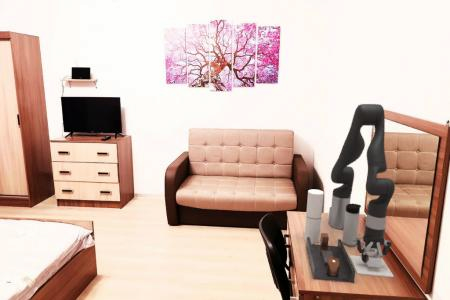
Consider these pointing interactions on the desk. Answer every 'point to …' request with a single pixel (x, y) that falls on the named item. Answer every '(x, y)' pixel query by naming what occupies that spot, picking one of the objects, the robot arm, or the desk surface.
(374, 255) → the grey box
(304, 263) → the desk surface
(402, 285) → the desk surface
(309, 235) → the cylindrical container
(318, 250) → the dark grey tray
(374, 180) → the robot arm
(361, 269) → the white mat
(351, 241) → the travel mug
